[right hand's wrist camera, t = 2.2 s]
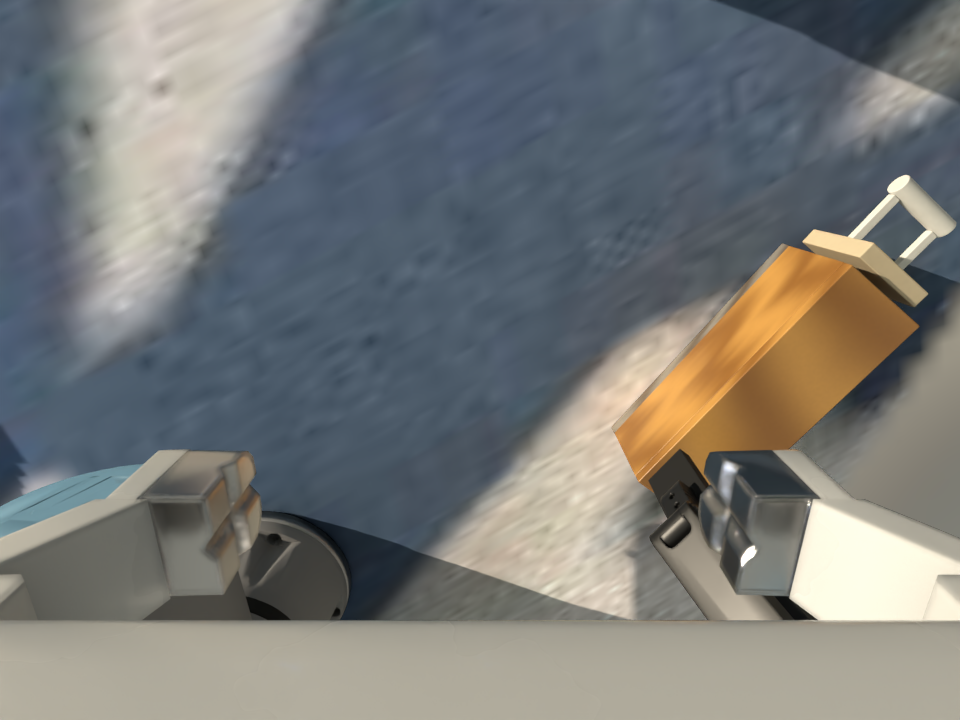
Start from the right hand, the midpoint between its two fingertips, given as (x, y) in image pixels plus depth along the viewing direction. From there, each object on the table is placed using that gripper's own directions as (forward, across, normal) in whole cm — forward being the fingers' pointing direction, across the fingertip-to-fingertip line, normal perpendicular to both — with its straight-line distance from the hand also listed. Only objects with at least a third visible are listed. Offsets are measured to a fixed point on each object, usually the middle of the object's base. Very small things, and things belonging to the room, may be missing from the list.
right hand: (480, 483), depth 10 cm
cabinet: (+35, -20, +11) cm, 42 cm away
